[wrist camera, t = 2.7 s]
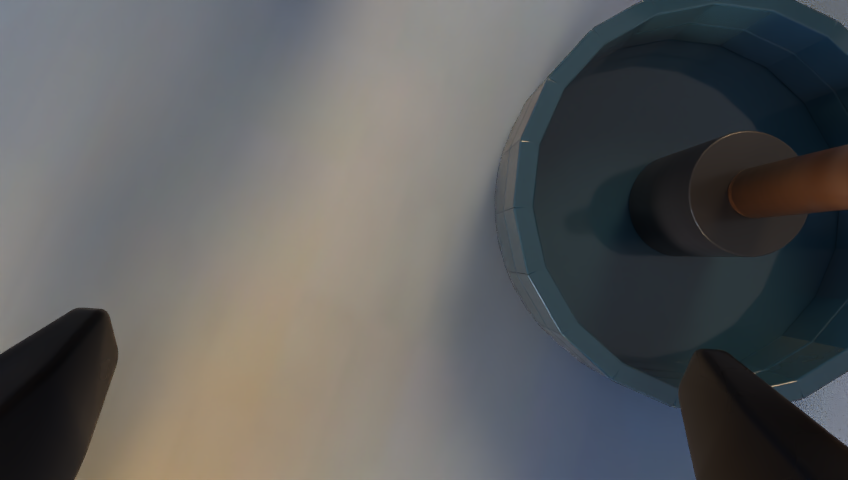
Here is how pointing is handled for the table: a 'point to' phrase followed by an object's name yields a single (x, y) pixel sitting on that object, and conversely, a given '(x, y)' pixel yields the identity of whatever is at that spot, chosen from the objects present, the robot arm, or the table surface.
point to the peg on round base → (735, 196)
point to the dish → (658, 137)
